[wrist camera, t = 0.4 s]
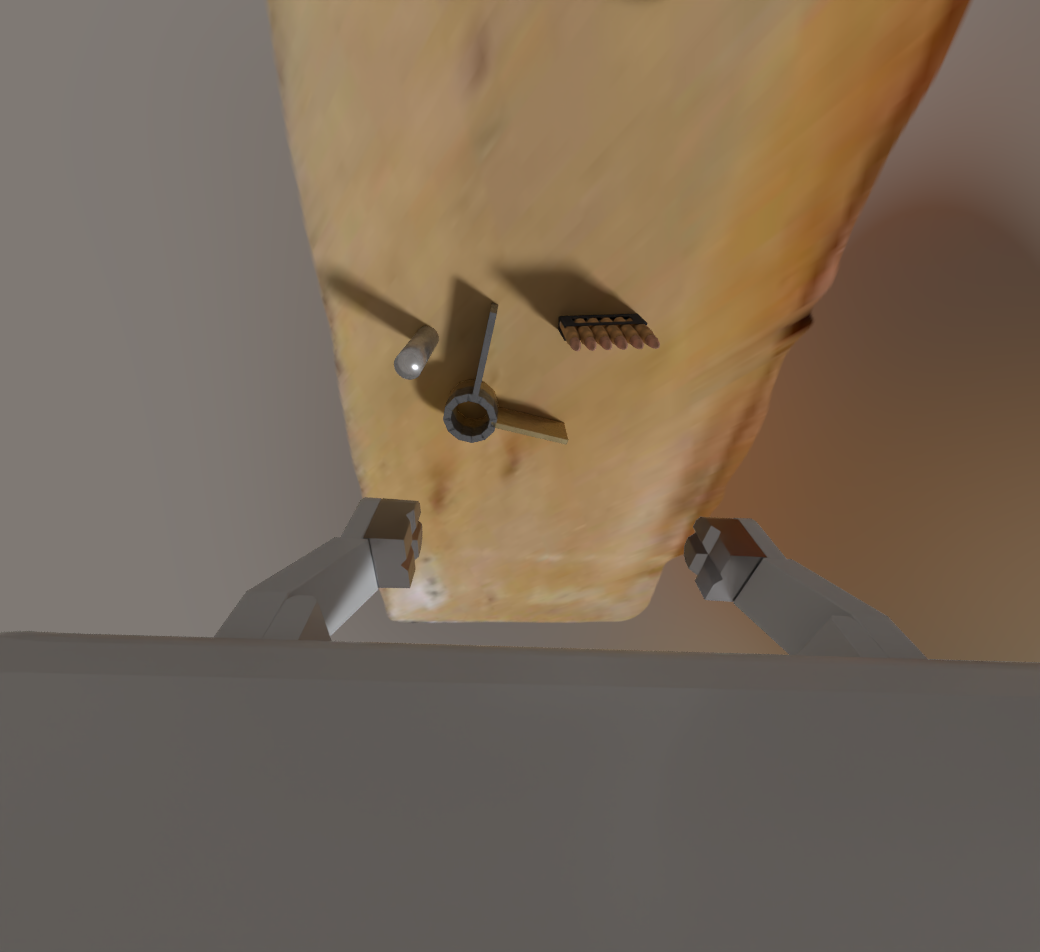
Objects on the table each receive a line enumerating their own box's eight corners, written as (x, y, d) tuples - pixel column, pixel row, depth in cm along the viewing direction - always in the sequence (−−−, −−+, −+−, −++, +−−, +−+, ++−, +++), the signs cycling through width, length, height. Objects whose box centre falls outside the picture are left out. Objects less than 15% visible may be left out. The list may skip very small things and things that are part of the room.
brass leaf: (453, 374, 54) (448, 388, 50) (571, 404, 57) (576, 420, 53) (445, 418, 58) (440, 435, 54) (555, 444, 61) (559, 462, 57)
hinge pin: (418, 323, 50) (395, 349, 40) (440, 329, 50) (422, 357, 41) (415, 345, 52) (393, 375, 42) (437, 350, 52) (419, 382, 42)
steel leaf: (467, 295, 48) (462, 304, 44) (522, 311, 49) (523, 321, 45) (445, 418, 58) (440, 435, 54) (491, 429, 59) (490, 446, 55)
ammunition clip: (558, 330, 51) (569, 358, 41) (558, 316, 50) (569, 341, 40) (635, 328, 51) (665, 355, 41) (637, 313, 50) (668, 338, 40)
